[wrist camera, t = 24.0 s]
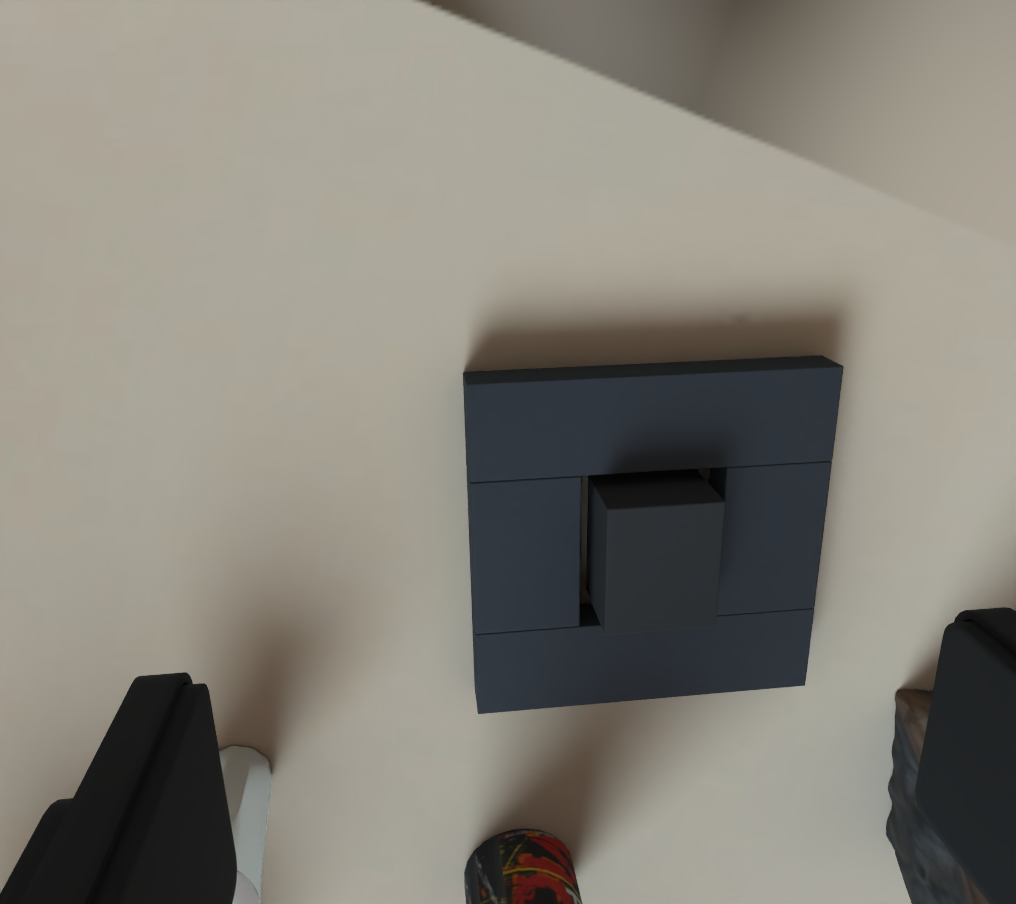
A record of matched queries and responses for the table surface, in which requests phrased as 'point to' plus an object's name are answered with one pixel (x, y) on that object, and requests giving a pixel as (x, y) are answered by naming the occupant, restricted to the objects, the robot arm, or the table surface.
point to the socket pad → (644, 448)
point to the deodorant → (521, 871)
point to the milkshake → (247, 815)
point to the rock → (920, 816)
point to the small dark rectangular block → (653, 550)
